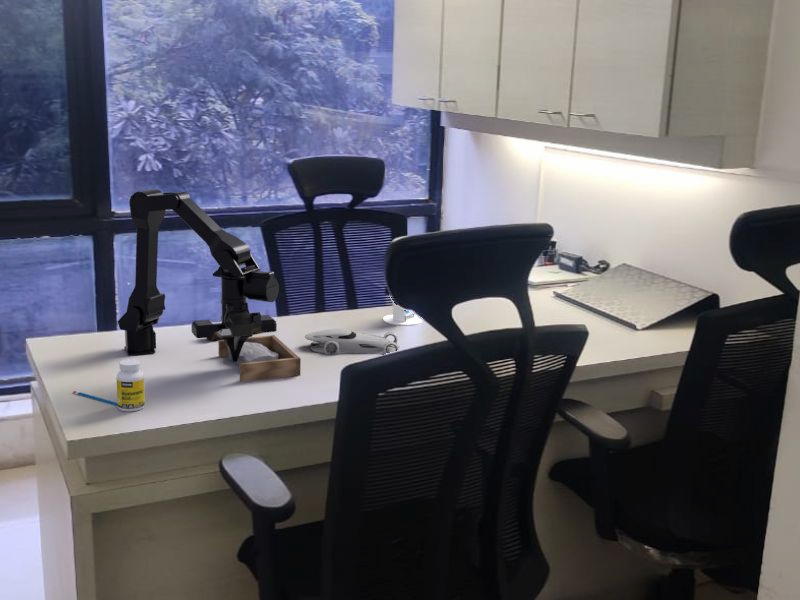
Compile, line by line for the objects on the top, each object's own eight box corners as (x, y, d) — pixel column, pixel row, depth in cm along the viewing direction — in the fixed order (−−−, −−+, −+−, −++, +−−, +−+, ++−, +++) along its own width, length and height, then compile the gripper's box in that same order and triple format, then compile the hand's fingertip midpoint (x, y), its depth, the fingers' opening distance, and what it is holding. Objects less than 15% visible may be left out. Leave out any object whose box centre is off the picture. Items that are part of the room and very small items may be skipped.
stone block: (260, 360, 223) (223, 358, 217) (264, 342, 222) (227, 339, 216) (282, 375, 214) (244, 374, 208) (286, 356, 213) (248, 354, 207)
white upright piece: (411, 328, 249) (413, 275, 245) (375, 322, 253) (376, 270, 250) (429, 318, 259) (431, 267, 256) (393, 313, 264) (395, 263, 260)
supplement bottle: (119, 413, 180) (117, 367, 178) (116, 404, 185) (113, 359, 182) (147, 410, 182) (145, 364, 180) (143, 401, 187) (141, 356, 184)
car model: (401, 357, 224) (401, 338, 223) (303, 354, 223) (303, 335, 222) (399, 344, 235) (400, 325, 234) (306, 341, 234) (306, 323, 233)
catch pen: (240, 381, 201) (240, 364, 200) (218, 356, 218) (218, 340, 217) (300, 375, 207) (300, 358, 206) (274, 350, 224) (274, 335, 223)
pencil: (75, 393, 191) (75, 390, 191) (133, 410, 183) (133, 407, 183) (72, 394, 190) (72, 391, 190) (130, 411, 182) (130, 408, 182)
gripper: (201, 308, 195) (202, 376, 199) (284, 302, 203) (283, 367, 207) (190, 296, 205) (191, 361, 209) (269, 291, 213) (269, 354, 216)
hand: (234, 361), depth 210 cm, fingers closed
